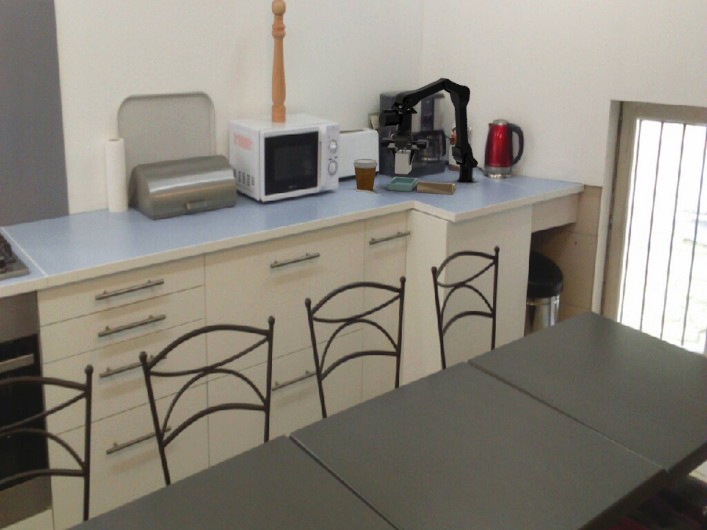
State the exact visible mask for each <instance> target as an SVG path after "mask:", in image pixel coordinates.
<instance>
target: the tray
mask: <svg viewBox="0 0 707 530" xmlns="http://www.w3.org/2000/svg"><path fill="white" fill-rule="evenodd" d="M418 180H419V179H418V177H406V176H405V177H403V176H402V177H401V176H394V177H393V178H392V179H391V180H390V181H389V182H388V183H387V191H396V192H397V191H399V192H413V190H414V189H415V188H416V187H417V184H418V182H419V181H418Z"/></svg>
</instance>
